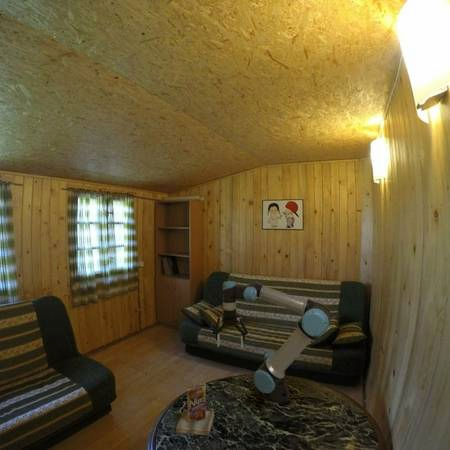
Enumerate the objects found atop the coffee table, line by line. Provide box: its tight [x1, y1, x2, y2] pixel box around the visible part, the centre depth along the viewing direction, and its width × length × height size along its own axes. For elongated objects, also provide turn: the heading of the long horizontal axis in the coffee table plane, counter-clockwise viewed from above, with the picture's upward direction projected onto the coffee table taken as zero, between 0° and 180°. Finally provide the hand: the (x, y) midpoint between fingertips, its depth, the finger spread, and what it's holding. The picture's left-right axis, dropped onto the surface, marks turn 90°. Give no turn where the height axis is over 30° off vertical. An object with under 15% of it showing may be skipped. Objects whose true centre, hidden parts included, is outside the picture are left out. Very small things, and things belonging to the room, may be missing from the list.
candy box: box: [186, 384, 207, 422], centre depth 134 cm, size 9×4×15 cm, turn 103°
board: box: [175, 408, 215, 436], centre depth 134 cm, size 16×14×2 cm
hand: (230, 346), depth 156 cm, fingers open, 13 cm apart
